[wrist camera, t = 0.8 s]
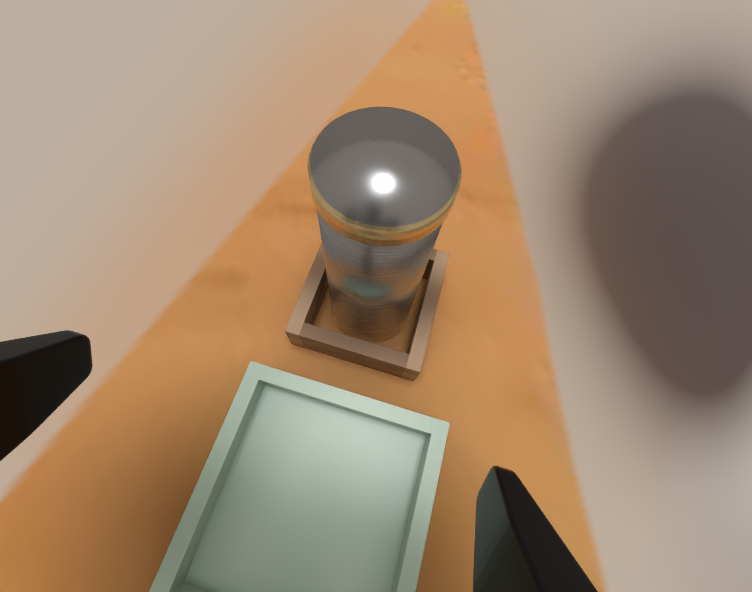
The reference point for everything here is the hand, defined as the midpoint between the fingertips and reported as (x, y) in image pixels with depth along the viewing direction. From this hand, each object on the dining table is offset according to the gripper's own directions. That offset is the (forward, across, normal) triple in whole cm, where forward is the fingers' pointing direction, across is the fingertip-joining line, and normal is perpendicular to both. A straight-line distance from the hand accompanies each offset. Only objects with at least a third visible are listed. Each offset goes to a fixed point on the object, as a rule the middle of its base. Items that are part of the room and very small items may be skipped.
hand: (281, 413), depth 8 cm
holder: (+16, 0, +5) cm, 17 cm away
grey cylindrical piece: (+16, 0, +5) cm, 17 cm away
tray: (+8, 0, +12) cm, 15 cm away
